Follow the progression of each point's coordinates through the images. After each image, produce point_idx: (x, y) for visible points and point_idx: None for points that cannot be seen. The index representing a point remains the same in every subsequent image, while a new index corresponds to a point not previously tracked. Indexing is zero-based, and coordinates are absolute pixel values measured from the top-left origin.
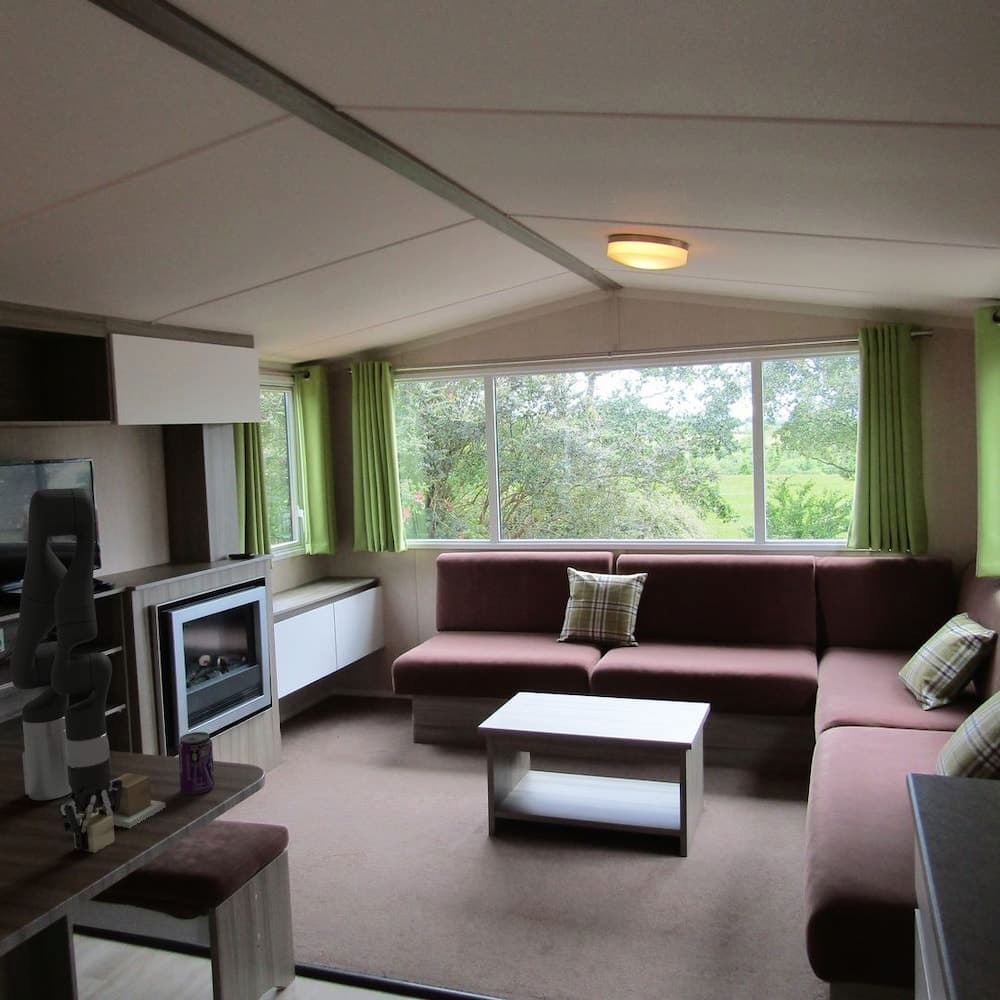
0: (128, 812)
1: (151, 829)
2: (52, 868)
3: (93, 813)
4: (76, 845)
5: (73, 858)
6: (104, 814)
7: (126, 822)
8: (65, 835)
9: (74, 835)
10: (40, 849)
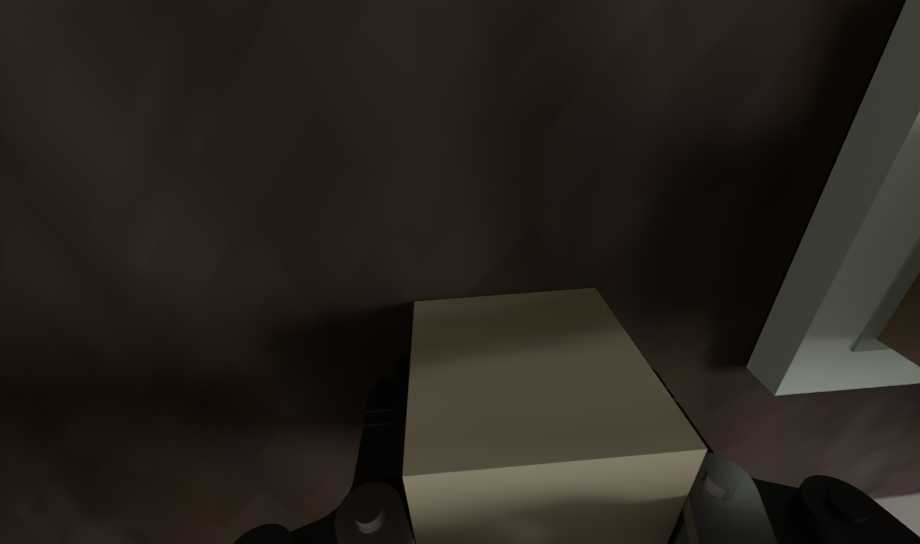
0: (911, 354)
1: (736, 450)
2: (178, 383)
3: (694, 457)
4: (369, 403)
5: (326, 385)
6: (678, 537)
7: (782, 372)
8: (570, 11)
9: (410, 379)
10: (253, 42)
